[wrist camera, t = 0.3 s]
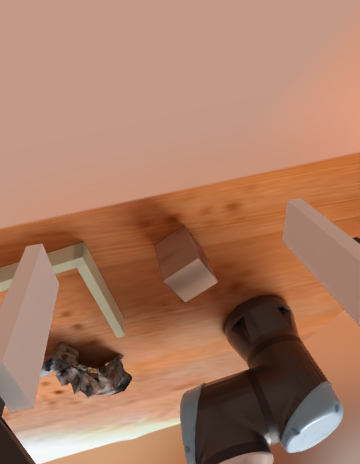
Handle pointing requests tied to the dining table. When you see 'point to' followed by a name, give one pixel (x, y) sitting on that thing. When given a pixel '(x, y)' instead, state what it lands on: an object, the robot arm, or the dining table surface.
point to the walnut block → (184, 264)
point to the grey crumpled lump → (86, 373)
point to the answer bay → (90, 273)
